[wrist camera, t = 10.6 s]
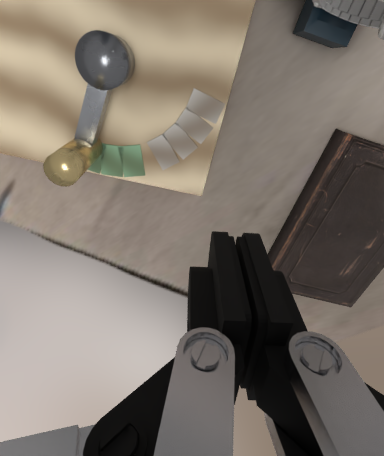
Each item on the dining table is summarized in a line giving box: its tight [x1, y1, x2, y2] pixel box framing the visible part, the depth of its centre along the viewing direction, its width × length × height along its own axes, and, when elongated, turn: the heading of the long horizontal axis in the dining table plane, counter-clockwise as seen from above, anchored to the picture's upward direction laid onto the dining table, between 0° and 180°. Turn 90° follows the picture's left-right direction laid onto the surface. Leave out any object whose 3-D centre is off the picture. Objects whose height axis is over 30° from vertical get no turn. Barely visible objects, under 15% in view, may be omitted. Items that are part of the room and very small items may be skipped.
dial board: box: [0, 0, 256, 196], centre depth 28 cm, size 24×24×1 cm
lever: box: [43, 30, 135, 186], centre depth 27 cm, size 14×4×8 cm, turn 155°
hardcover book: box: [268, 129, 384, 307], centre depth 39 cm, size 16×23×2 cm
